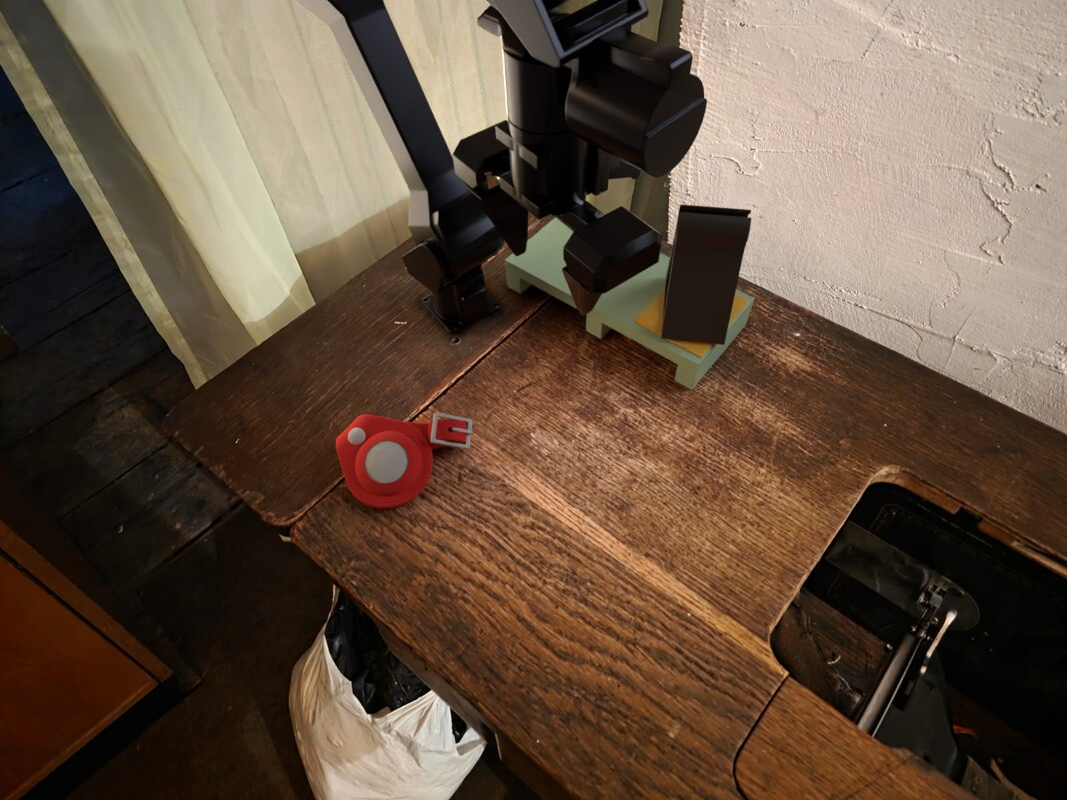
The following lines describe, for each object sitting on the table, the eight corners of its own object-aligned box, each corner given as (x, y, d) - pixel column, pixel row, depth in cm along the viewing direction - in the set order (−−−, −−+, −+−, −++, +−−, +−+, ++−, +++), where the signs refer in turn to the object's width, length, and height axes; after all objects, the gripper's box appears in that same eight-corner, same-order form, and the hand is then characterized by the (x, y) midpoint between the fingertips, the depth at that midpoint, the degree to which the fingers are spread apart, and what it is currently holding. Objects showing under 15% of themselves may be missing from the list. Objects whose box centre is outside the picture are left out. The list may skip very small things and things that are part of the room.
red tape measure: (388, 529, 57) (306, 454, 59) (398, 534, 62) (322, 464, 63) (483, 424, 60) (402, 356, 62) (486, 436, 64) (410, 372, 66)
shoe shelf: (507, 286, 76) (504, 258, 72) (566, 235, 81) (566, 206, 77) (691, 390, 66) (698, 363, 63) (746, 324, 71) (755, 296, 68)
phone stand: (665, 275, 70) (682, 176, 60) (724, 281, 69) (750, 182, 60) (660, 339, 65) (677, 243, 55) (723, 346, 64) (752, 249, 54)
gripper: (737, 127, 43) (697, 300, 56) (557, 23, 52) (558, 192, 65) (604, 196, 39) (594, 365, 52) (436, 72, 49) (462, 240, 61)
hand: (551, 281), depth 58 cm, fingers open, 9 cm apart
